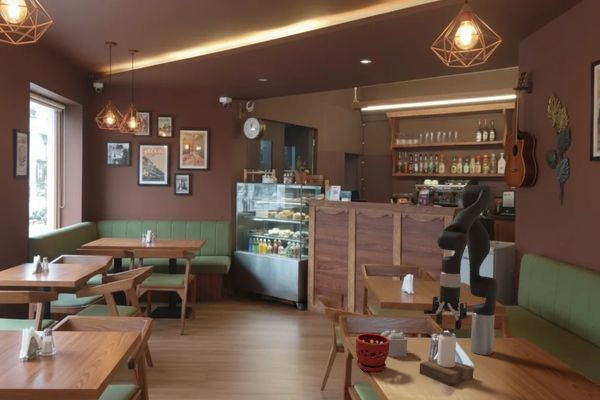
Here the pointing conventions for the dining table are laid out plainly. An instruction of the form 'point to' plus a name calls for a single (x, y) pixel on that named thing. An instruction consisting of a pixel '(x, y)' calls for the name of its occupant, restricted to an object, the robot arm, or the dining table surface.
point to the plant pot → (371, 352)
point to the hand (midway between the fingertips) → (448, 326)
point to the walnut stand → (446, 372)
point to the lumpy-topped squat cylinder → (396, 343)
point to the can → (446, 350)
